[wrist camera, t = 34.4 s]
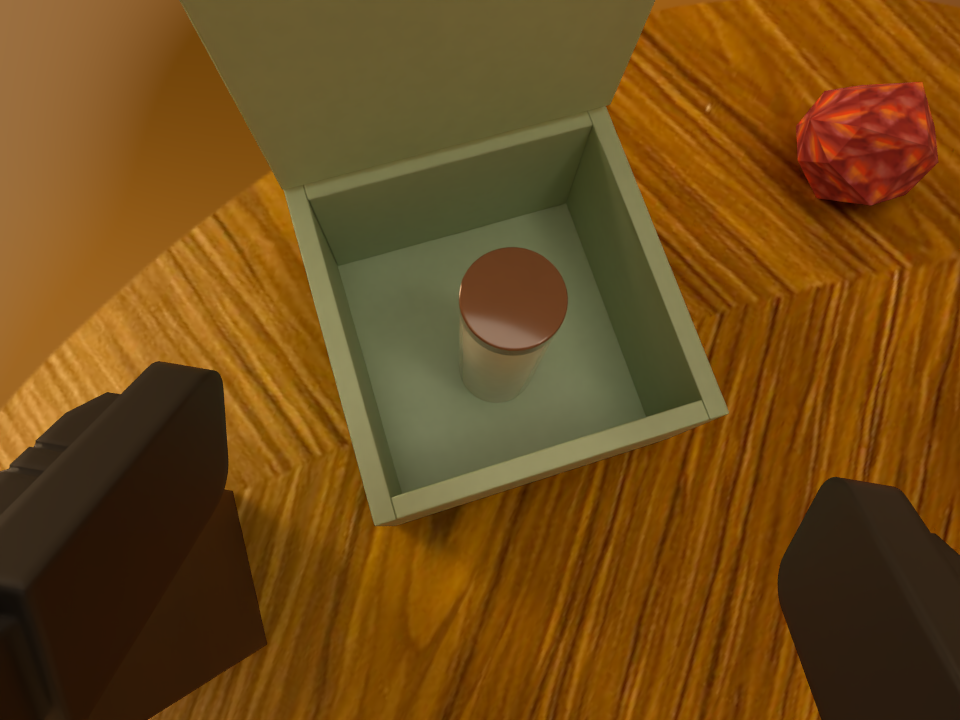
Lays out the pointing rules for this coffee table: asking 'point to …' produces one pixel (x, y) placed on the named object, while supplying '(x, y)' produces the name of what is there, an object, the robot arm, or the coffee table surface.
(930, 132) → the red faceted ball
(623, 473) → the coffee table surface
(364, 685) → the coffee table surface
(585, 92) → the chest lid
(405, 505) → the chest
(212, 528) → the block
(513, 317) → the canister
